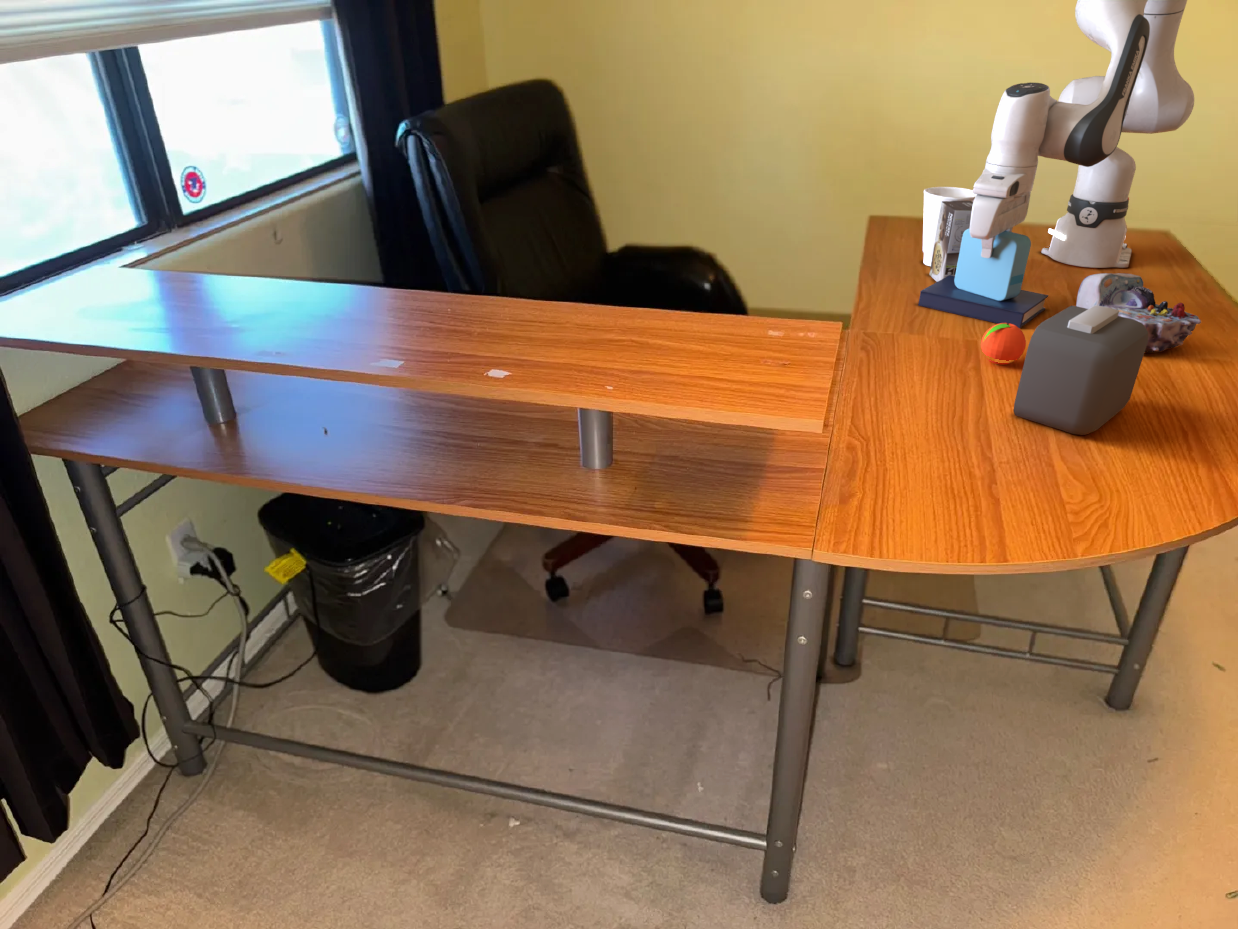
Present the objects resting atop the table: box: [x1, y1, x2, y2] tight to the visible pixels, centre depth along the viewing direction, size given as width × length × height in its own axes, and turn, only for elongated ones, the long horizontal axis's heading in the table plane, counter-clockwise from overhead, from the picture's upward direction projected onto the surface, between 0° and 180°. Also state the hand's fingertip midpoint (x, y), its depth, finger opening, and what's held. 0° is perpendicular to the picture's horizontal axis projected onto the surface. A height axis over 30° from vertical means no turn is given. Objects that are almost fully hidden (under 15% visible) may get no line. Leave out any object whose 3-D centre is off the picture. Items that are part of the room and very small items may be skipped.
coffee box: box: [929, 201, 973, 283], centre depth 186 cm, size 9×6×16 cm
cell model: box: [1075, 272, 1202, 354], centre depth 157 cm, size 13×11×20 cm
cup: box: [922, 186, 977, 267], centre depth 197 cm, size 12×12×16 cm
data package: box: [954, 229, 1032, 301], centre depth 170 cm, size 12×4×12 cm, turn 34°
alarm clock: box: [1013, 305, 1148, 436], centre depth 128 cm, size 16×11×16 cm
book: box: [917, 275, 1049, 329], centre depth 174 cm, size 14×20×3 cm
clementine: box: [980, 323, 1027, 366], centre depth 147 cm, size 8×7×7 cm
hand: (992, 253), depth 169 cm, fingers closed on data package, 5 cm apart
